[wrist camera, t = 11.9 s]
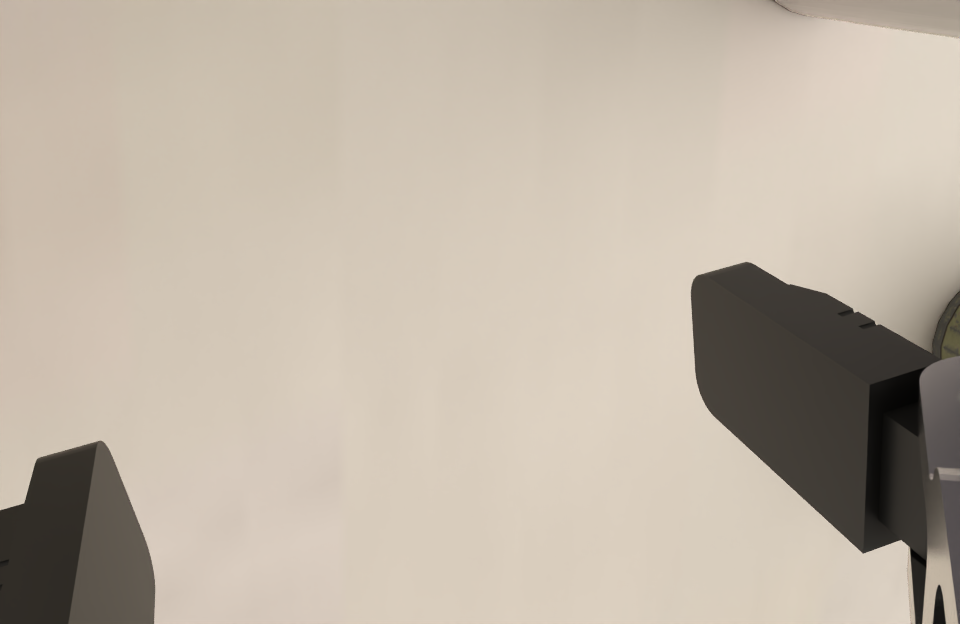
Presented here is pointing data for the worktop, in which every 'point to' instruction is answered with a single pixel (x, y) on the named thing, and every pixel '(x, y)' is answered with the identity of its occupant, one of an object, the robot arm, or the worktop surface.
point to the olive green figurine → (948, 332)
